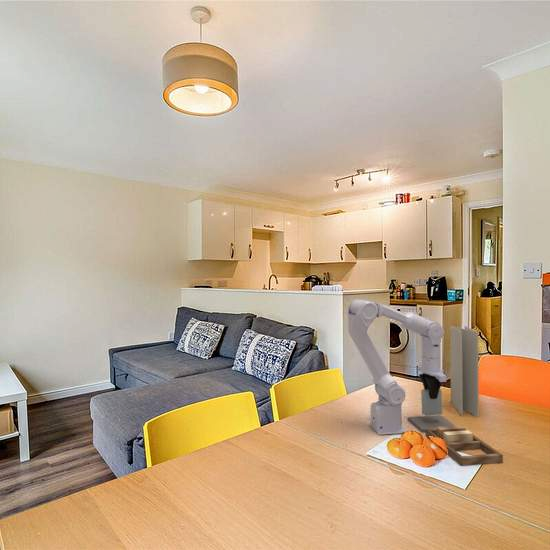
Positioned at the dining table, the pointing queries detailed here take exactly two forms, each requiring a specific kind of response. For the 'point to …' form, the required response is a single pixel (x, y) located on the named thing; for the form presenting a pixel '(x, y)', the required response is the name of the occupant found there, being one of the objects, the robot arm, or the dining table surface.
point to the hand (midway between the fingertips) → (431, 397)
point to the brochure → (464, 369)
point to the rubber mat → (429, 422)
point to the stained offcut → (448, 430)
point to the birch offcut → (458, 436)
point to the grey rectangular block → (431, 403)
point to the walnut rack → (452, 448)
